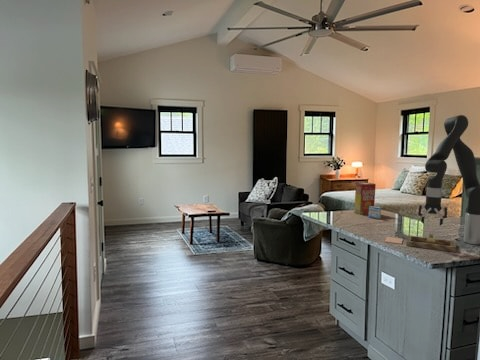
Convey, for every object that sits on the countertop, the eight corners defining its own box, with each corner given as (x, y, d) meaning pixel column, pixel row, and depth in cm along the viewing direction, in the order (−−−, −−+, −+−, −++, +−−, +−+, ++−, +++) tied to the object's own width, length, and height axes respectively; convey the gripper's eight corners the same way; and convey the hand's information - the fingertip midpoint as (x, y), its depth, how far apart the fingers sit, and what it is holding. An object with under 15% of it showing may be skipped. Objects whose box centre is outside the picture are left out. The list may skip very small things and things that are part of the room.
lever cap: (434, 244, 206) (435, 233, 205) (434, 247, 199) (435, 236, 199) (426, 243, 207) (427, 232, 207) (426, 246, 201) (427, 235, 201)
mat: (402, 239, 215) (402, 238, 215) (401, 244, 205) (401, 243, 205) (386, 237, 219) (386, 236, 219) (384, 242, 209) (384, 241, 209)
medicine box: (368, 217, 279) (368, 206, 278) (370, 216, 282) (371, 205, 282) (378, 219, 274) (379, 207, 273) (380, 218, 277) (381, 207, 276)
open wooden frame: (454, 245, 204) (454, 240, 204) (455, 252, 191) (456, 247, 191) (407, 239, 216) (407, 235, 215) (406, 245, 202) (406, 241, 202)
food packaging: (360, 214, 290) (361, 184, 287) (353, 212, 299) (355, 182, 296) (374, 214, 293) (376, 183, 291) (367, 212, 302) (369, 182, 300)
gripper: (448, 196, 201) (445, 224, 202) (419, 193, 207) (417, 221, 209) (448, 197, 194) (446, 227, 196) (419, 195, 201) (417, 224, 202)
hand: (431, 224), depth 202 cm, fingers open, 8 cm apart
